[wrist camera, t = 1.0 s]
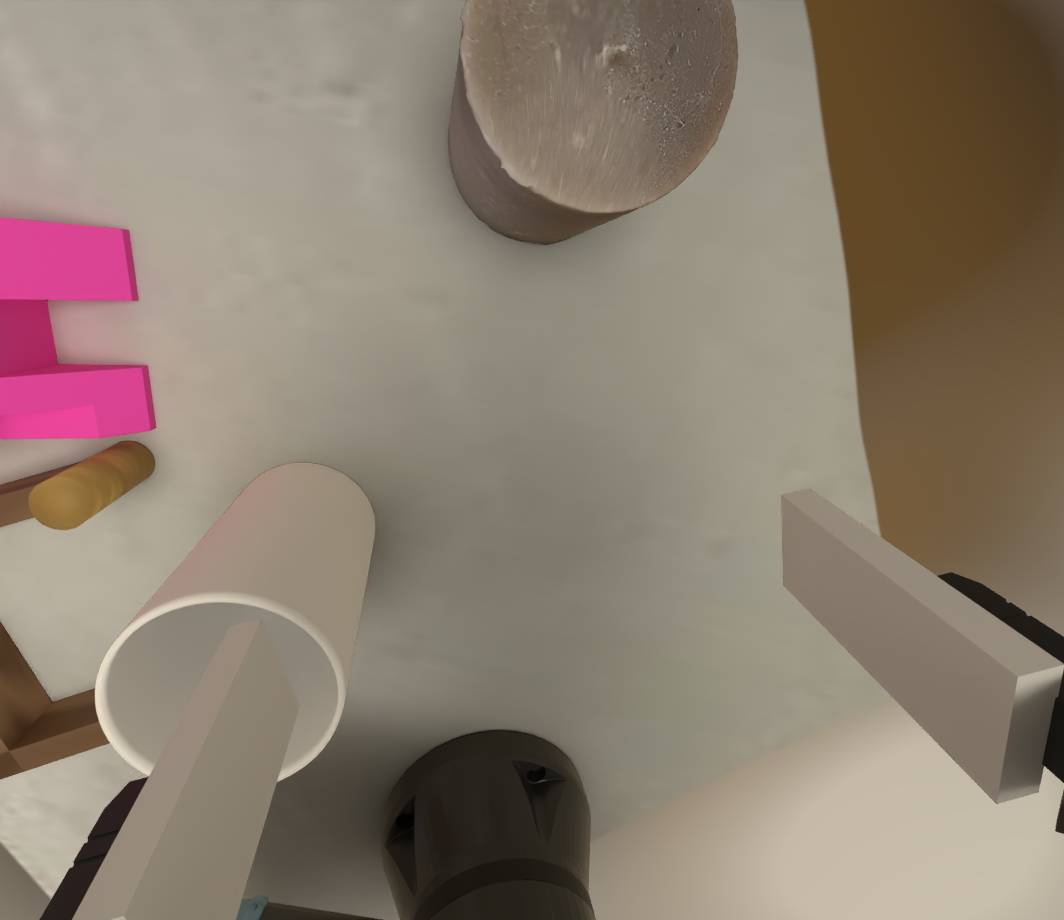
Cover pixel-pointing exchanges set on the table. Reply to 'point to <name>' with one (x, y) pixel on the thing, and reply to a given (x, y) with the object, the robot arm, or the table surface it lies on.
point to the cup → (250, 612)
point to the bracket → (28, 345)
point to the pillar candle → (585, 107)
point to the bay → (3, 675)
